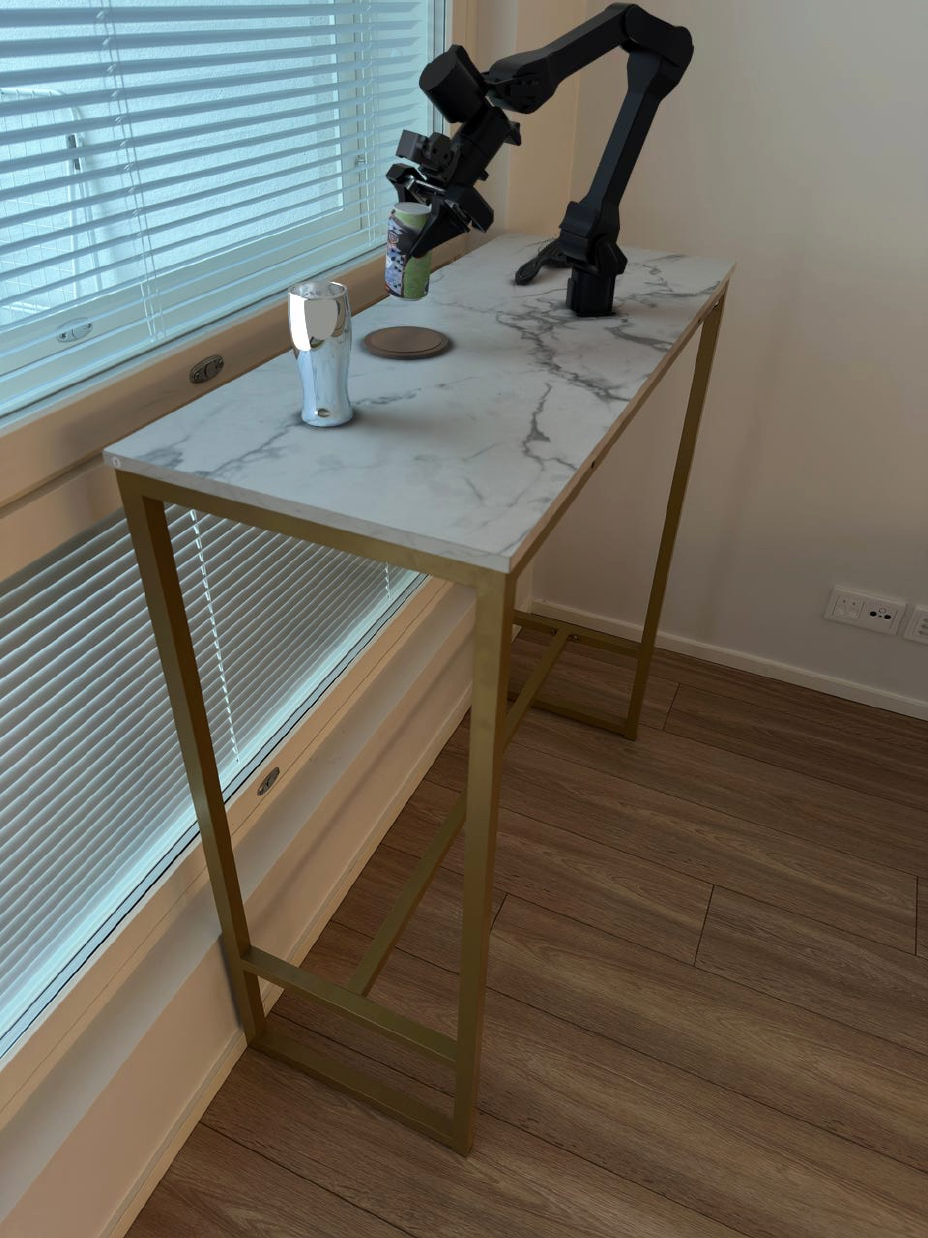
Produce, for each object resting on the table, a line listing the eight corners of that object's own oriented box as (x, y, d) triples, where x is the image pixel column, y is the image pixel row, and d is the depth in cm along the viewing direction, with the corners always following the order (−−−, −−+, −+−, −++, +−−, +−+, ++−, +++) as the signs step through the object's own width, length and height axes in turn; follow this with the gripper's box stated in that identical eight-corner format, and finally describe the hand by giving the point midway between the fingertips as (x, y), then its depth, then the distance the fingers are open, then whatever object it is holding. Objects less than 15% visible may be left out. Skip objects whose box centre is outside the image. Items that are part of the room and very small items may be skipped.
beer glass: (365, 409, 110) (359, 283, 102) (341, 432, 105) (332, 301, 96) (314, 401, 112) (303, 276, 103) (287, 423, 107) (274, 294, 98)
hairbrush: (497, 263, 153) (556, 224, 170) (496, 285, 155) (555, 245, 172) (542, 271, 150) (598, 231, 167) (541, 293, 152) (596, 251, 169)
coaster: (439, 328, 135) (440, 323, 134) (455, 357, 125) (455, 352, 125) (359, 331, 133) (359, 327, 132) (368, 361, 123) (368, 356, 123)
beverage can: (394, 290, 128) (388, 198, 121) (443, 293, 126) (440, 200, 119) (378, 303, 123) (370, 207, 116) (429, 306, 121) (425, 209, 114)
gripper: (395, 93, 118) (326, 195, 120) (476, 113, 106) (398, 225, 107) (446, 154, 126) (381, 248, 128) (526, 179, 114) (453, 282, 116)
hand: (400, 250), depth 120 cm, fingers closed on beverage can, 5 cm apart
